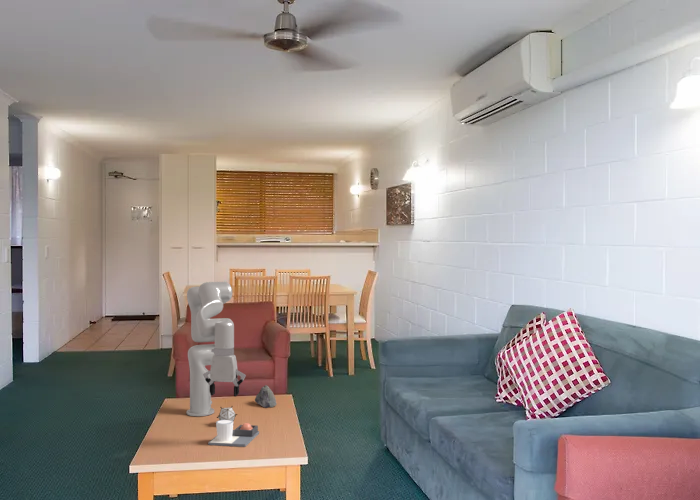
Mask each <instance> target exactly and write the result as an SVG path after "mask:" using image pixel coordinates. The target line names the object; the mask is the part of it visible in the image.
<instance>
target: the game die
mask: <svg viewBox="0 0 700 500" xmlns="http://www.w3.org/2000/svg"><path fill="white" fill-rule="evenodd" d="M236 416H238V414H237V413H236V412H235V410H234V409H233V405H231V406H229V407H222V406H220V410H219V413H218V415H217V416H216V418H217V419H218V421H219V420H232V421H233V422H234V421H235V418H236ZM233 426H234V423H233Z"/></svg>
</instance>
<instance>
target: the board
mask: <svg viewBox="0 0 700 500" xmlns="http://www.w3.org/2000/svg"><path fill="white" fill-rule="evenodd" d="M242 425H243V424H240V425H239V426H237V427H236V428H235V429H233V433H232V440H230V441H218V438H217V435H216V436H214V437H213V438H211V440H209V441H208V444H207V445H208V446H220V447H238V448H246V447H247V446H248V445H249V444H250V443H251V442H252V441H253V440H255V438H257V436H258V435H259V434H260V431H259V426H258V425H253V424H250V425H251V426H252V428H253V429H252V430H240V428H241V426H242Z"/></svg>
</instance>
